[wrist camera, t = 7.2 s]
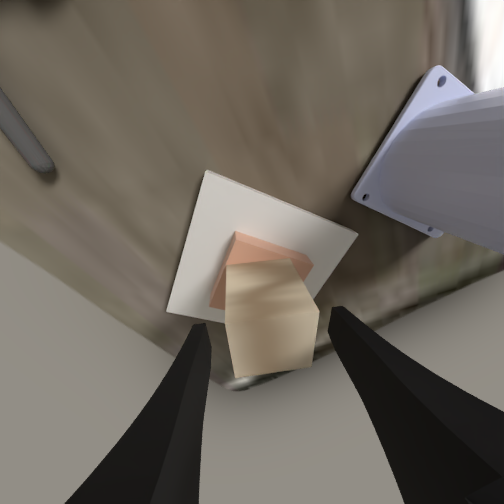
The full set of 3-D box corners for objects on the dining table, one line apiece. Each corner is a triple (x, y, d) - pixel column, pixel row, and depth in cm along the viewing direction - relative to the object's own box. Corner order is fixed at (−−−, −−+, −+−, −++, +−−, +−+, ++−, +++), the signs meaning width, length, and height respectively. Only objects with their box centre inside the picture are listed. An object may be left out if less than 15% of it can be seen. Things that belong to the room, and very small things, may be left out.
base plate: (351, 229, 15) (371, 242, 13) (285, 327, 20) (291, 349, 18) (207, 169, 12) (202, 173, 10) (169, 303, 17) (160, 325, 15)
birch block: (289, 258, 13) (319, 311, 9) (288, 304, 15) (311, 367, 11) (226, 264, 13) (224, 323, 9) (233, 311, 15) (235, 378, 11)
